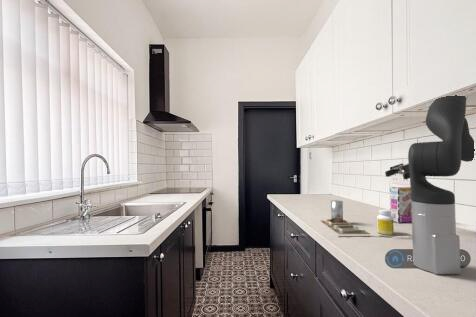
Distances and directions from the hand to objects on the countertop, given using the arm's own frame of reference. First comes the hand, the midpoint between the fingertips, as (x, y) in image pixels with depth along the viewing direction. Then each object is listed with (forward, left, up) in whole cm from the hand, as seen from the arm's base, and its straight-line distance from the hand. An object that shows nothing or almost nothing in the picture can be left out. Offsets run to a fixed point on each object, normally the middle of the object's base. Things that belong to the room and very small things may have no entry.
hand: (394, 175), depth 97 cm
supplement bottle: (0, +4, -23) cm, 24 cm away
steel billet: (+17, +16, -22) cm, 32 cm away
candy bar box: (+24, -18, -23) cm, 38 cm away
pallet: (+11, +16, -23) cm, 30 cm away
